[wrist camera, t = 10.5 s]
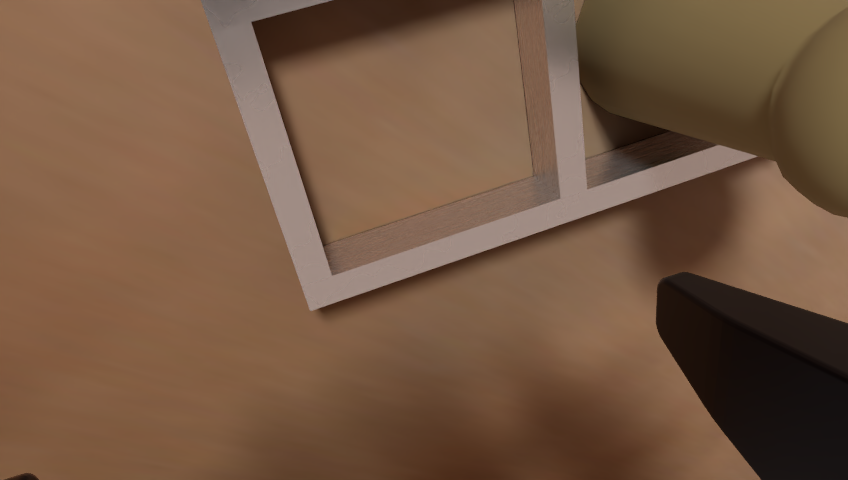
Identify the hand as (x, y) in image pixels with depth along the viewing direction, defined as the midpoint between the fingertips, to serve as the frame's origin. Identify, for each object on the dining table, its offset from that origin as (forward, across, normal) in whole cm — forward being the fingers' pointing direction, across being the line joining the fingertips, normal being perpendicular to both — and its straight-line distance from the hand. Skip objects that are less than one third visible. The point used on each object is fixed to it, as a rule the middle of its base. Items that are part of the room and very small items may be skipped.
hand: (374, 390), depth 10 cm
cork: (+14, -13, +1) cm, 19 cm away
